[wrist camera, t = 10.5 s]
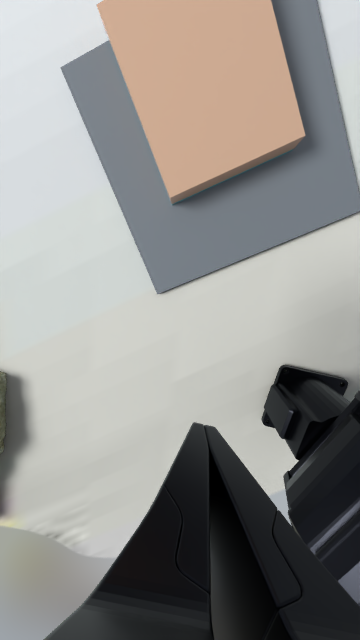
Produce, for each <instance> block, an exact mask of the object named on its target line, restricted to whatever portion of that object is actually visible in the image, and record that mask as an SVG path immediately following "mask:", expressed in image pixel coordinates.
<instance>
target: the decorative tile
mask: <svg viewBox="0 0 360 640" xmlns="http://www.w3.org/2000/svg"><path fill="white" fill-rule="evenodd" d="M6 384H7V379H6V373H4V372H0V454H1V453H2V452H3V451H4V442H3V439H4V437H5V435H6V433H5V429H6V419H5V404H6V399H5V393H6V389H7V388H6Z"/></svg>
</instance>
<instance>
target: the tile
mask: <svg viewBox="0 0 360 640" xmlns="http://www.w3.org/2000/svg"><path fill="white" fill-rule="evenodd" d="M97 8H98V11H99V13H100V16H101V19H102V22H103V25H104V28H105V31H106V34H107V37H108V39H109V42H110V45H111V47H112V50H113V52H114V55H115V58H116V60H117V63H118V66H119V68H120V71H121V73H122V76H123V79H124V81H125V84H126V86H127V89H128V92H129V94H130V97H131V99H132V102H133V105H134V107H135V110H136V113H137V115H138V118H139V120H140V123H141V126H142V128H143V131H144V133H145V136H146V139H147V141H148V144H149V146H150V149H151V152H152V154H153V157H154V159H155V162H156V165H157V167H158V170H159V173H160V175H161V178H162V180H163V183H164V186H165V188H166V191H167V193H168V196H169V199H170V201H171V204H172V205H174V204H176V203H178V202H181V201H183V200H185V199H187V198H189V197H192V196H194V195H196V194H198V193H200V192H203V191H205V190H207V189H209V188H211V187H214V186H216V185H218V184H220V183H222V182H224V181H227V180H229V179H231V178H233V177H235V176H238V175H240V174H242V173H244V172H246V171H249V170H251V169H253V168H255V167H257V166H260V165H262V164H264V163H266V162H268V161H271V160H273V159H275V158H277V157H279V156H282V155H284V154H286V153H288V152H290V151H292V150H293V149H294V148H295V147H296V146H297V145H298V143H299V142H300V141H301V140H302V139H303V138H304V137H305V132H304V128H303V124H302V120H301V116H300V112H299V108H298V104H297V100H296V96H295V92H294V88H293V85H292V81H291V77H290V73H289V69H288V65H287V61H286V57H285V53H284V49H283V45H282V41H281V37H280V33H279V30H278V26H277V22H276V18H275V14H274V10H273V6H272V2H271V0H104V1H102V2H100V3H99V4H97Z"/></svg>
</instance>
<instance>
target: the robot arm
mask: <svg viewBox="0 0 360 640" xmlns="http://www.w3.org/2000/svg"><path fill="white" fill-rule="evenodd" d="M285 369H287V371H286V372H283V371H284V370H285ZM340 383H342V384H341V385H340ZM347 386H348V382H347V381H346V380H345V379H343V378H340V377H336V376H331V375H327V374H322V373H318V372H313V371H309V370H305V369H300V368H296V367H291V366H287V365H283V366H281V367H280V368H279V371H278V373H277V376H276V379H275V382H274V384H273V385H272V386H271V388H270V391H269V394H268V397H267V400H266V403H265V405H264V409H265V410H264V413H263V416H262V422H263V424H264V425H265V426H268V427H273V428H276V430H277V432H278V434H279V436H280V437H281V438H282V439H285V440H286V442H287V444H288V446H289V447H290V449H291V451H292V453H293V454H294V456H295V458H296V459H297V460H299V461H298V462H297V464H296V465H295V466H294V467H293V468H292V469H291V470H290V471H287V472H286V473H285V475H284V476H283V477H284V483H285V489H286V496H287V501H288V507H289V510H288V515H289V519H290V521H291V525H292V526H291V525H290V524H289V523H288V521H287V520H286V519H285V517H284V516H283V515H282V514H281V512H280V511H279V510H278V511H277V507H276V506H275V505H274V503H273V502H272V501H271V500H270V498H269V497H268V495H267V494H266V493H265V492H264V490H263V489H262V488H261V486H260V485H259V484H258V482H257V481H256V480H255V479H254V477H253V476H252V475H251V473H250V472H249V471H248V469H247V468H246V467H245V465H244V464H243V463H242V462H241V460H240V459H239V458H238V456H237V455H236V454H235V452H234V451H233V450H232V449H231V447H230V446H229V445H228V443H227V442H226V441H225V439H224V438H223V437H222V436H221V434H220V433H219V432H218V430H217V429H216V428H215V427H213V426H209V425H203V424H199V423H195V422H194V423H193V424H192V426H191V428H190V430H189V432H188V434H187V436H186V438H185V440H184V442H183V444H182V446H181V448H180V450H179V452H178V454H177V456H176V458H175V460H174V462H173V464H172V466H171V468H170V470H169V472H168V474H167V476H166V478H165V480H164V482H163V484H162V486H161V488H160V490H159V492H158V494H157V496H156V498H155V500H154V502H153V504H152V505H151V507H150V509H149V511H148V513H147V514H146V516H145V517H144V519H143V520H142V522H141V523H140V525H139V527H138V528H137V530H136V531H135V533H134V534H133V535H132V537H131V538H130V540H129V541H128V543H127V544H126V546H125V547H124V548H123V550H122V551H121V553H120V554H119V556H118V557H117V559H116V560H115V562H114V563H113V564H112V566H111V567H110V569H109V570H108V572H107V573H106V574H105V576H104V577H103V579H102V580H101V581H100V583H99V584H98V585H97V587H96V588H95V589H94V591H93V592H92V593H91V594H90V596H89V597H88V598H87V599H86V600H85V601H84V603H83V604H82V605H81V606H80V607H79V608H78V609H77V610H76V611H74V613H72V614H71V615H70V616H69V617H68V618H67V619H66V620H65V621H63V622H62V623H61V624H60V625H59V626H58V627H57V628H56V629H55V630H54V631H52V633H50V634H49V635H48V636H47V637H46V638H45V639H44V640H360V391H358V392H357V394H356V395H355V396H354V397H355V399H354V400H353V401H352V402H351V403H350V402H349V401H348V400H346V399H345V398H344V397H343V395H344V393H345V391H346V388H347ZM266 420H268V421H266Z"/></svg>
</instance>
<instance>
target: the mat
mask: <svg viewBox="0 0 360 640" xmlns="http://www.w3.org/2000/svg"><path fill="white" fill-rule="evenodd" d="M271 2H272V6H273V10H274V14H275V18H276V22H277V26H278V30H279V33H280V37H281V41H282V45H283V49H284V53H285V57H286V61H287V65H288V69H289V73H290V77H291V81H292V85H293V88H294V92H295V96H296V100H297V104H298V108H299V112H300V116H301V120H302V124H303V128H304V132H305V137H304V138H303V139H302V140H301V141H300V142H299V143H298V145H297V146H296V147H295V148H294V149H293V150H292V151H290V152H288V153H286V154H284V155H282V156H279V157H277V158H275V159H273V160H271V161H268V162H266V163H264V164H262V165H260V166H257V167H255V168H253V169H251V170H249V171H246V172H244V173H242V174H240V175H238V176H235V177H233V178H231V179H229V180H227V181H224V182H222V183H220V184H218V185H216V186H214V187H211V188H209V189H207V190H205V191H203V192H200V193H198V194H196V195H194V196H192V197H189V198H187V199H185V200H183V201H181V202H178V203H176V204H174V205H172V204H171V201H170V199H169V196H168V193H167V191H166V188H165V186H164V183H163V180H162V178H161V175H160V173H159V170H158V167H157V165H156V162H155V159H154V157H153V154H152V152H151V149H150V146H149V144H148V141H147V139H146V136H145V133H144V131H143V128H142V126H141V123H140V120H139V118H138V115H137V113H136V110H135V107H134V105H133V102H132V99H131V97H130V94H129V92H128V89H127V86H126V84H125V81H124V79H123V76H122V73H121V71H120V68H119V66H118V63H117V60H116V58H115V55H114V52H113V50H112V47H111V45H110V42H109V41H107V42H105V43H103V44H101V45H100V46H98V47H96V48H94V49H93V50H91V51H89V52H87V53H86V54H84V55H82V56H80V57H78V58H77V59H75V60H73V61H71V62H70V63H68V64H66V65H64V66H62V67H61V70H62V72H63V75H64V77H65V79H66V82H67V84H68V86H69V89H70V91H71V93H72V96H73V98H74V100H75V103H76V105H77V107H78V110H79V112H80V114H81V117H82V119H83V121H84V124H85V126H86V128H87V131H88V133H89V135H90V138H91V140H92V142H93V145H94V147H95V149H96V152H97V154H98V156H99V159H100V161H101V163H102V166H103V168H104V170H105V173H106V175H107V177H108V180H109V182H110V184H111V187H112V189H113V191H114V194H115V196H116V198H117V201H118V203H119V205H120V208H121V210H122V212H123V215H124V217H125V219H126V222H127V224H128V226H129V229H130V231H131V233H132V236H133V238H134V240H135V243H136V245H137V248H138V250H139V252H140V255H141V257H142V259H143V262H144V264H145V266H146V269H147V271H148V273H149V276H150V278H151V280H152V283H153V285H154V287H155V290H156V292H157V294H159V293H162V292H164V291H167V290H169V289H171V288H174V287H176V286H179V285H181V284H184V283H186V282H188V281H191V280H193V279H196V278H198V277H201V276H203V275H206V274H208V273H210V272H213V271H215V270H218V269H220V268H223V267H225V266H227V265H230V264H232V263H235V262H237V261H240V260H242V259H244V258H247V257H249V256H252V255H254V254H257V253H259V252H262V251H264V250H266V249H269V248H271V247H274V246H276V245H279V244H281V243H283V242H286V241H288V240H291V239H293V238H296V237H298V236H301V235H303V234H305V233H308V232H310V231H313V230H315V229H318V228H320V227H322V226H325V225H327V224H330V223H332V222H335V221H337V220H340V219H342V218H344V217H347V216H349V215H352V214H354V213H357V212H359V211H360V194H359V190H358V185H357V181H356V176H355V172H354V167H353V163H352V158H351V154H350V149H349V145H348V140H347V136H346V131H345V127H344V122H343V118H342V113H341V108H340V104H339V99H338V95H337V90H336V86H335V81H334V77H333V72H332V68H331V63H330V59H329V54H328V50H327V45H326V41H325V36H324V32H323V27H322V23H321V18H320V14H319V9H318V5H317V0H271Z"/></svg>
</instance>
